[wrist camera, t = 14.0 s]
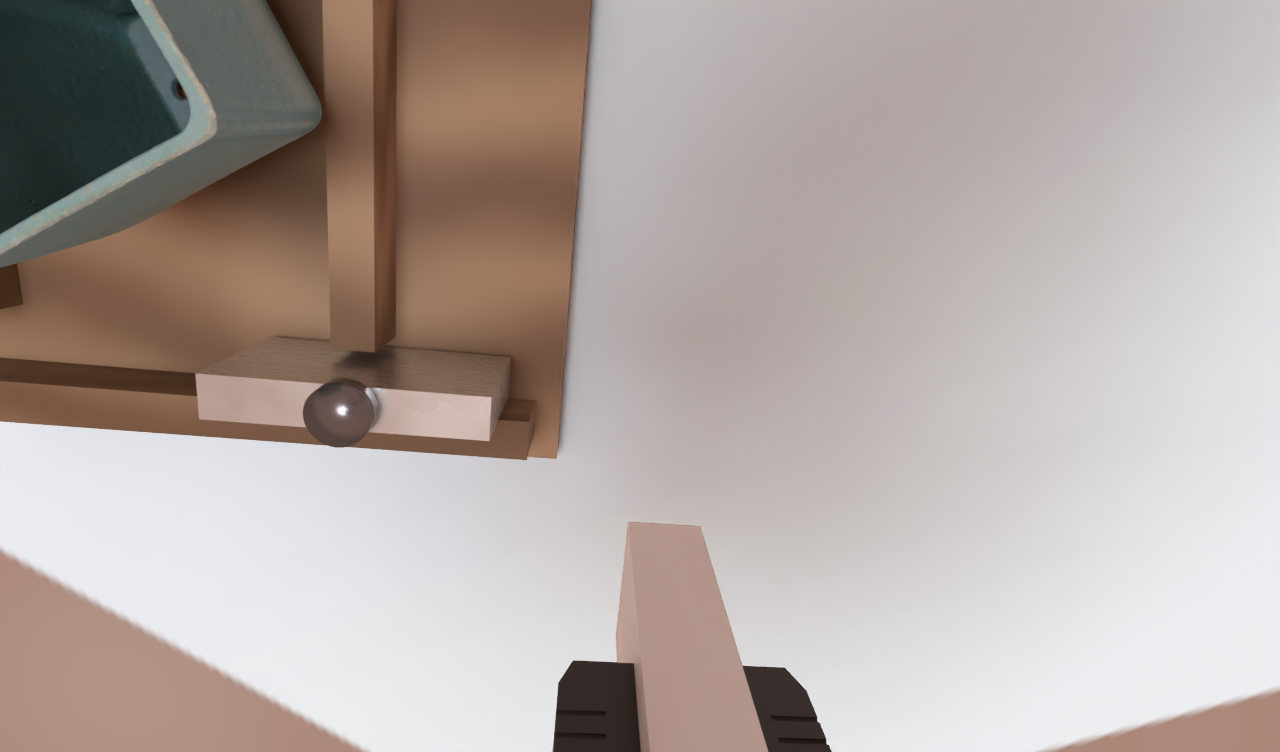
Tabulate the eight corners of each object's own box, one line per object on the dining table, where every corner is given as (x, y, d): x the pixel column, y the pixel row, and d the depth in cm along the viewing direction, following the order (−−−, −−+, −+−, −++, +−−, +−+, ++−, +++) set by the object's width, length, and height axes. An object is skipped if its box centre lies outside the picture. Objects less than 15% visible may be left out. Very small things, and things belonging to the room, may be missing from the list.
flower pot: (402, 140, 23) (221, 129, 14) (201, 245, 25) (-65, 289, 16) (262, -136, 21) (-48, -341, 12) (53, 1, 23) (-343, -95, 14)
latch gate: (271, 330, 25) (178, 372, 20) (511, 351, 26) (487, 397, 21) (273, 380, 26) (184, 436, 20) (509, 399, 27) (485, 458, 21)
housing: (-90, -216, 21) (-227, -294, 18) (600, -118, 23) (599, -171, 20) (11, 406, 27) (-77, 440, 24) (558, 447, 29) (551, 485, 25)
